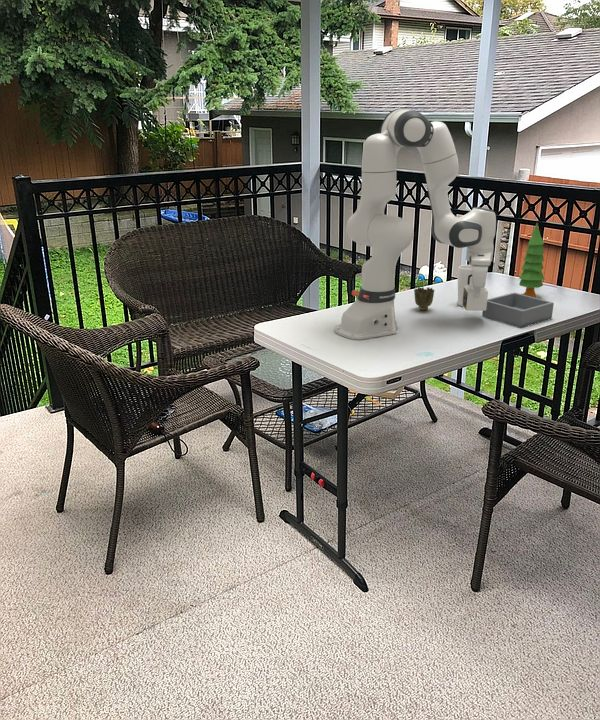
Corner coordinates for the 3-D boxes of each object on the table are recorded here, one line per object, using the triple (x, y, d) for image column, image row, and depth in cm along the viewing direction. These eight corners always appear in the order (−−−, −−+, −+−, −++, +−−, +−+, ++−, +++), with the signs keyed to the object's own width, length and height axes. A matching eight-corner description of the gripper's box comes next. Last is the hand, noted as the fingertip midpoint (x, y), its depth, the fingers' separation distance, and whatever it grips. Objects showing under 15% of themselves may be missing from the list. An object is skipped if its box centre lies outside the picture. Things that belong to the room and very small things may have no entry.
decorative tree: (518, 300, 249) (527, 223, 238) (514, 293, 257) (522, 219, 246) (544, 300, 247) (554, 223, 236) (538, 294, 256) (548, 219, 245)
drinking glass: (475, 307, 241) (478, 268, 236) (457, 307, 241) (460, 269, 236) (471, 302, 247) (474, 264, 242) (454, 302, 248) (456, 264, 242)
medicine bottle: (462, 305, 229) (465, 272, 225) (482, 305, 228) (485, 272, 224) (465, 310, 222) (468, 277, 218) (486, 311, 222) (489, 277, 217)
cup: (411, 312, 237) (412, 291, 235) (414, 306, 244) (415, 286, 241) (431, 313, 235) (433, 292, 232) (434, 307, 242) (435, 287, 239)
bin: (520, 328, 218) (522, 311, 216) (482, 316, 231) (483, 300, 229) (551, 318, 226) (553, 302, 224) (512, 307, 240) (514, 292, 237)
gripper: (468, 249, 229) (465, 286, 234) (471, 260, 210) (467, 301, 215) (486, 250, 227) (482, 287, 232) (491, 261, 209) (486, 302, 214)
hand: (475, 294), depth 223 cm, fingers closed on medicine bottle, 7 cm apart
